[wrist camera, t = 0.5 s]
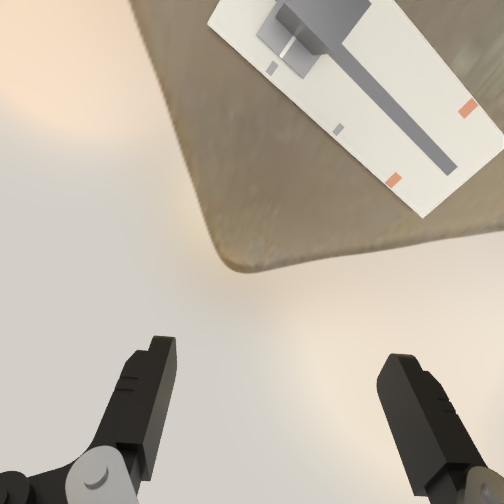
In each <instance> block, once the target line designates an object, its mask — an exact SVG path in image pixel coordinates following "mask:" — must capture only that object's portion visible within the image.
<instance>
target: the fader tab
mask: <svg viewBox="0 0 504 504" xmlns="http://www.w3.org/2000/svg"><path fill="white" fill-rule="evenodd" d="M370 6H371V2H370V1H369V0H277V2H276V3H275V5H274V7H273V8H272V10H271V11H270V13H269V14H268V16H267V18H266V19H265V21H264V22H263V24H262V26H261V27H260V29H259V30H258V32H257V33H256V35H257V36H258V37H259V38H260V39H261V40H262V41H263V42H264V43H265V44H266V45H267V46H268V47H269V48H270V49H271V50H272V51H274V52H275V53H276V54H277V55H278V56H279V57H280V58H281V59H282V60H283V61H284V62H285V63H286V64H287V65H288V66H289V67H290V68H291V69H293V70H294V71H295V72H296V73H297V74H298V75H299V76H300V77H301V78H302V79H304V78H305V76H306V75H307V73H308V72H309V71H310V69H311V68H312V67H313V65H314V64H315V63H316V61H317V60H318V59H319V57H320V56H321V55H324V54H334V53H335V52H336V50H337V49H338V48H339V46H340V45H341V44H342V42H343V41H344V40H345V38H346V37H347V36H348V34H349V33H350V32H351V31H352V29H353V28H354V27H355V25H356V24H357V23H358V21H359V20H360V19H361V17H362V16H363V15H364V14H365V12H366V11H367V10H368V8H369V7H370Z"/></svg>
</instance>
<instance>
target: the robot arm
mask: <svg viewBox="0 0 504 504" xmlns="http://www.w3.org/2000/svg"><path fill="white" fill-rule="evenodd" d="M176 370H177V355H176V339H175V337H167V336H154V337H153V339H152V341H151V344H150V347H149V349H148V351H143V350H137V351H135V353H134V354H133V355H132V356H131V357H130V358H129V359H128V360H127V361H126V363H125V365H124V367H123V370H122V372H121V375H120V378H119V380H118V382H117V384H116V387H115V390H114V392H113V394H112V396H111V398H110V401H109V403H108V406H107V408H106V410H105V413H104V415H103V418H102V420H101V423H100V425H99V427H98V430H97V432H96V434H95V437H94V439H93V441H92V443H91V444H90V446H89V447H88V448H87V450H86V451H85V452H84V453H83V454H82V455H81V456H80V457H78V458H77V459H76V460H75V461H73V462H72V463H70V464H68V465H66V466H64V467H61V468H58V469H55V470H51V471H48V472H44V473H41V474H38V475H34V476H31V477H28V478H27V477H26V476H25V475H24V474H22V473H21V472H17V471H7V472H3V473H0V504H139V502H138V499H137V494H138V490H139V487H140V483H141V481H150V480H151V476H152V472H153V468H154V464H155V460H156V456H157V452H158V448H159V443H160V439H161V435H162V431H163V427H164V423H165V419H166V415H167V411H168V406H169V402H170V398H171V394H172V390H173V386H174V382H175V377H176ZM377 393H378V396H379V399H380V402H381V404H382V407H383V410H384V412H385V415H386V418H387V421H388V424H389V427H390V429H391V432H392V435H393V438H394V440H395V443H396V446H397V449H398V451H399V454H400V457H401V460H402V463H403V465H404V468H405V471H406V474H407V476H408V479H409V482H410V485H411V488H412V490H413V493H414V496H426V497H428V498H429V501H430V503H431V504H504V478H503V477H502V476H501V475H499V474H498V473H497V472H495V471H493V470H491V469H489V468H488V467H487V466H486V464H485V462H484V461H483V459H482V457H481V455H480V453H479V452H478V450H477V448H476V446H475V445H474V443H473V441H472V439H471V437H470V436H469V434H468V432H467V430H466V428H465V427H464V425H463V423H462V421H461V420H460V418H459V416H458V415H457V414H456V411H455V409H454V407H453V405H452V403H451V402H449V398H448V397H447V395H446V393H445V391H444V389H443V387H442V386H441V384H440V383H439V382H438V381H437V380H436V379H435V378H434V377H433V376H432V375H431V374H430V373H429V372H428V371H423V370H422V368H421V366H420V364H419V362H418V360H417V359H416V358H415V357H414V356H413V355H407V354H406V355H405V354H390V355H389V357H388V359H387V360H386V362H385V364H384V366H383V368H382V370H381V372H380V374H379V376H378V378H377Z"/></svg>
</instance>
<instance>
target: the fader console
mask: <svg viewBox="0 0 504 504" xmlns="http://www.w3.org/2000/svg"><path fill="white" fill-rule="evenodd" d="M369 1H370V2H371V6H370V7H369V8H368V10H367V11H366V12H365V14H364V15H363V16H362V17H361V19H360V20H359V21H358V23H357V24H356V25H355V27H354V28H353V29H352V31H351V32H350V33H349V34H348V36H347V37H346V38H345V40H344V41H343V42H342V44H341V45H340V46H339V48H338V49H337V50H336V52H335V53H334V54H324V55H321V56H320V57H319V59H318V60H317V61H316V63H315V64H314V65H313V67H312V68H311V69H310V71H309V72H308V73H307V75H306V76H305V78H304V79H302V78H301V77H300V76H299V75H298V74H297V73H296V72H295V71H294V70H293V69H291V68H290V67H289V66H288V65H287V64H286V63H285V62H284V61H283V60H282V59H281V58H280V57H279V56H278V55H277V54H276V53H275V52H274V51H272V50H271V49H270V48H269V47H268V46H267V45H266V44H265V43H264V42H263V41H262V40H261V39H260V38H259V37H258V36H257V35H256V33H257V32H258V30H259V29H260V27H261V26H262V24H263V22H264V21H265V19H266V18H267V16H268V14H269V13H270V11H271V10H272V8H273V7H274V5H275V3H276V2H277V0H220V1H219V3H218V5H217V7H216V9H215V10H214V12H213V14H212V16H211V17H210V19H209V21H208V23H207V24H208V25H209V26H210V27H211V28H212V29H213V30H214V31H215V32H216V33H218V34H219V35H220V36H221V37H222V38H223V39H224V40H225V41H226V42H228V43H229V44H230V45H231V46H232V47H233V48H234V49H235V50H236V51H238V52H239V53H240V54H241V55H242V56H243V57H244V58H245V59H246V60H248V61H249V62H250V63H251V64H252V65H253V66H254V67H255V68H256V69H257V70H259V71H260V72H261V73H262V74H263V75H264V76H265V77H266V78H267V79H269V80H270V81H271V82H272V83H273V84H274V85H275V86H276V87H277V88H279V89H280V90H281V91H282V92H283V93H284V94H285V95H286V96H287V97H289V98H290V99H291V100H292V101H293V102H294V103H295V104H296V105H297V106H299V107H300V108H301V109H302V110H303V111H304V112H305V113H306V114H307V115H309V116H310V117H311V118H312V119H313V120H314V121H315V122H316V123H317V124H318V125H320V126H321V127H322V128H323V129H324V130H325V131H326V132H327V133H328V134H330V135H331V136H332V137H333V138H334V139H335V140H336V141H337V142H338V143H340V144H341V145H342V146H343V147H344V148H345V149H346V150H347V151H348V152H350V153H351V154H352V155H353V156H354V157H355V158H356V159H357V160H358V161H360V162H361V163H362V164H363V165H364V166H365V167H366V168H367V169H368V170H370V171H371V172H372V173H373V174H374V175H375V176H376V177H377V178H378V179H380V180H381V181H382V182H383V183H384V184H385V185H386V186H387V187H388V188H389V189H391V190H392V191H393V192H394V193H395V194H396V195H397V196H398V197H399V198H401V199H402V200H403V201H404V202H405V203H406V204H407V205H408V206H409V207H411V208H412V209H413V210H414V211H415V212H416V213H417V214H418V215H419V216H421V217H422V218H424V217H425V216H426V215H427V214H428V213H430V212H431V211H432V210H433V209H434V208H435V207H437V206H438V205H439V204H440V203H441V202H442V201H444V200H445V199H446V198H447V197H448V196H449V195H450V194H452V193H453V192H454V191H455V190H456V189H457V188H459V187H460V186H461V185H462V184H463V183H464V182H466V181H467V180H468V179H469V178H470V177H471V176H473V175H474V174H475V173H476V172H477V171H478V170H480V169H481V168H482V167H483V166H484V165H485V164H487V163H488V162H489V161H490V160H491V159H492V158H494V157H495V156H496V155H497V154H498V153H499V152H501V151H502V150H503V149H504V134H503V133H502V132H501V131H500V130H499V128H498V127H497V126H496V125H495V123H494V122H493V121H492V120H491V119H490V117H489V116H488V115H487V114H486V112H485V111H484V110H483V109H482V108H481V106H480V105H479V104H478V103H477V101H476V100H475V99H474V98H473V96H472V95H471V94H470V93H469V92H468V90H467V89H466V88H465V87H464V85H463V84H462V83H461V82H460V81H459V79H458V78H457V77H456V76H455V74H454V73H453V72H452V71H451V70H450V68H449V67H448V66H447V65H446V63H445V62H444V61H443V60H442V59H441V57H440V56H439V55H438V54H437V52H436V51H435V50H434V49H433V47H432V46H431V45H430V44H429V43H428V41H427V40H426V39H425V38H424V36H423V35H422V34H421V33H420V32H419V30H418V29H417V28H416V27H415V25H414V24H413V23H412V22H411V21H410V19H409V18H408V17H407V16H406V14H405V13H404V12H403V11H402V10H401V8H400V7H399V6H398V5H397V3H396V2H395V1H394V0H369Z"/></svg>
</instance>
